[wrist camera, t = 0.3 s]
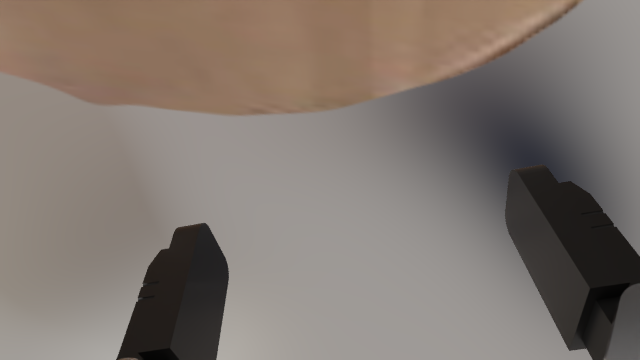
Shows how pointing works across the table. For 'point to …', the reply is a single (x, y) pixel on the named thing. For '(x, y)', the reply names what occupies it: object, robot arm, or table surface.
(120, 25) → the table surface
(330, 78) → the table surface
